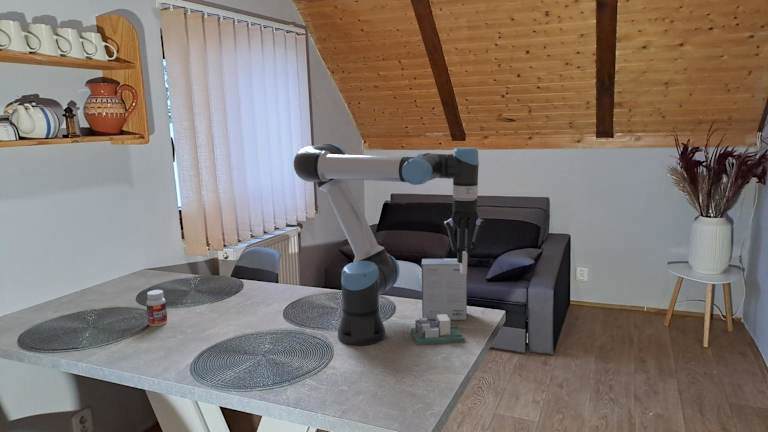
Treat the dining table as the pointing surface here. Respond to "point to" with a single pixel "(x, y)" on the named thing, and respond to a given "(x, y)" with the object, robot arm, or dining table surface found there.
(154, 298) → the pill bottle
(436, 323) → the grey rectangular bar
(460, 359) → the dining table surface
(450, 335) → the board
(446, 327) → the white open-sided box
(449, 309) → the hard drive box
